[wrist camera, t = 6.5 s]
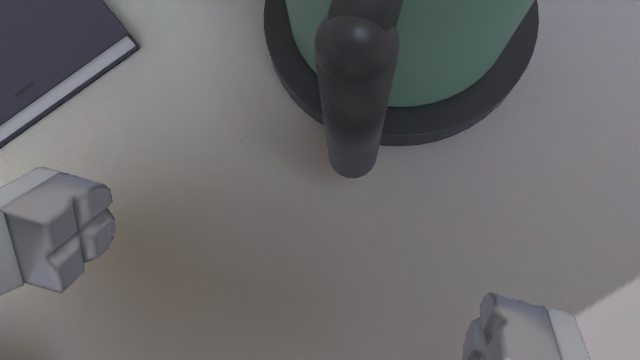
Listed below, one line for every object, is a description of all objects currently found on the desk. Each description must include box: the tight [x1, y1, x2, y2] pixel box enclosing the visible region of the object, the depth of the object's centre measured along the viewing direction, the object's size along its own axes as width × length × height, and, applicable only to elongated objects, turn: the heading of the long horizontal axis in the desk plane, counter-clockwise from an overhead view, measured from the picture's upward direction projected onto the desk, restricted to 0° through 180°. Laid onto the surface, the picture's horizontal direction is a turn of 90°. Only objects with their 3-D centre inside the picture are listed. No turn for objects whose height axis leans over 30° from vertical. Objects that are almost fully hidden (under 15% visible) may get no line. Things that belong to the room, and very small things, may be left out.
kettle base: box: [264, 0, 539, 146], centre depth 24 cm, size 15×15×2 cm
